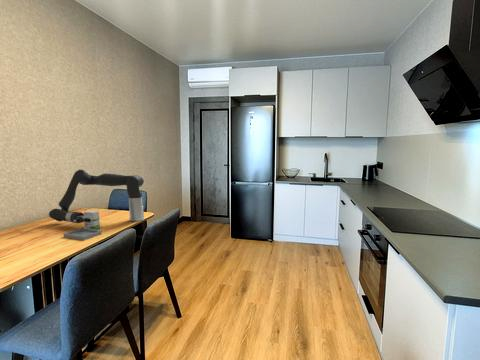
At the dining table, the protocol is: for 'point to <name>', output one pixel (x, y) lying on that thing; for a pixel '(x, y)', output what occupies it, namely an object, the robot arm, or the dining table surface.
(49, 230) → the dining table surface
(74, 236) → the tray
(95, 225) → the ink box
